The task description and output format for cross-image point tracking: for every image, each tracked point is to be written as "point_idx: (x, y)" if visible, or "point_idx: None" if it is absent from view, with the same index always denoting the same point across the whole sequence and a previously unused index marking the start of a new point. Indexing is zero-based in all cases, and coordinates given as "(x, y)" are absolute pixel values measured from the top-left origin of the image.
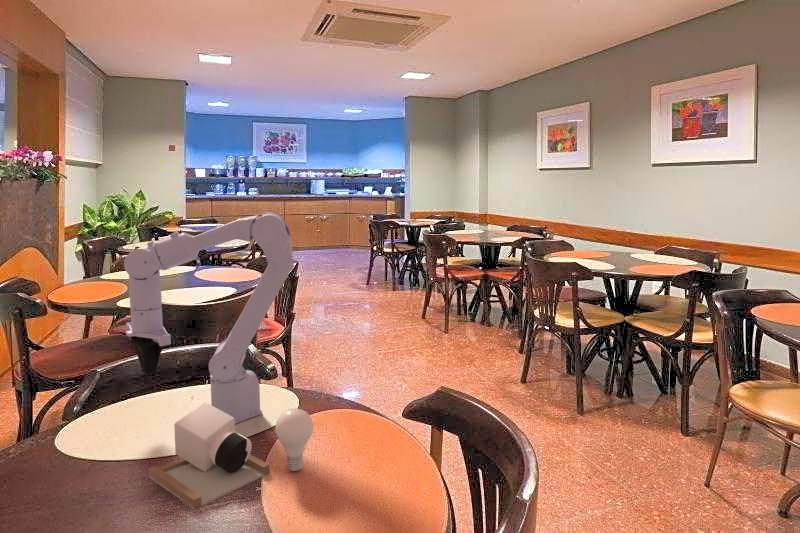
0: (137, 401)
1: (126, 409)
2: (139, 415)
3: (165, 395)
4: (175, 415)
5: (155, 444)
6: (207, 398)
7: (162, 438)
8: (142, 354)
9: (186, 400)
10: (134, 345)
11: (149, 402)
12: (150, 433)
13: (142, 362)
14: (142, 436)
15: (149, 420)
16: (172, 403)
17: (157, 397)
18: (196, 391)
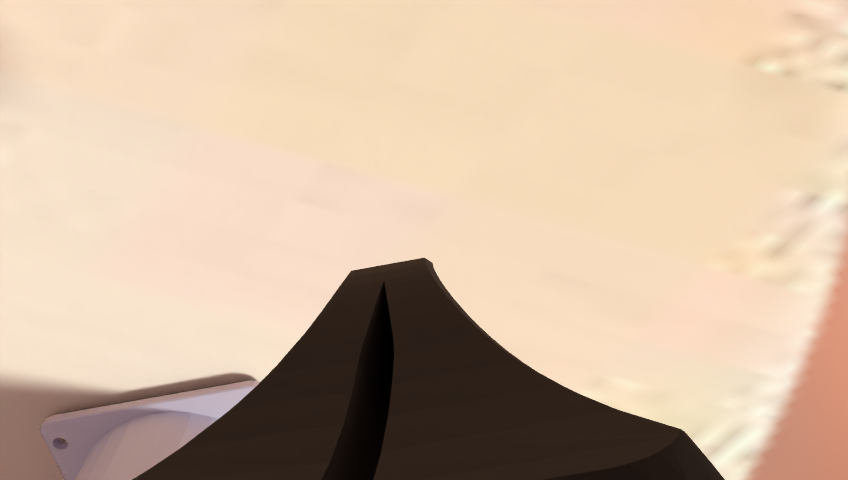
0: (799, 144)
1: (720, 44)
2: (549, 89)
3: (751, 309)
4: None
5: (5, 45)
6: None
7: (80, 108)
8: (222, 429)
9: (577, 378)
10: (417, 471)
11: (718, 202)
12: (201, 67)
13: (352, 330)
14: (180, 9)
15: (420, 120)
16: (592, 306)
17: (759, 263)
18: None
